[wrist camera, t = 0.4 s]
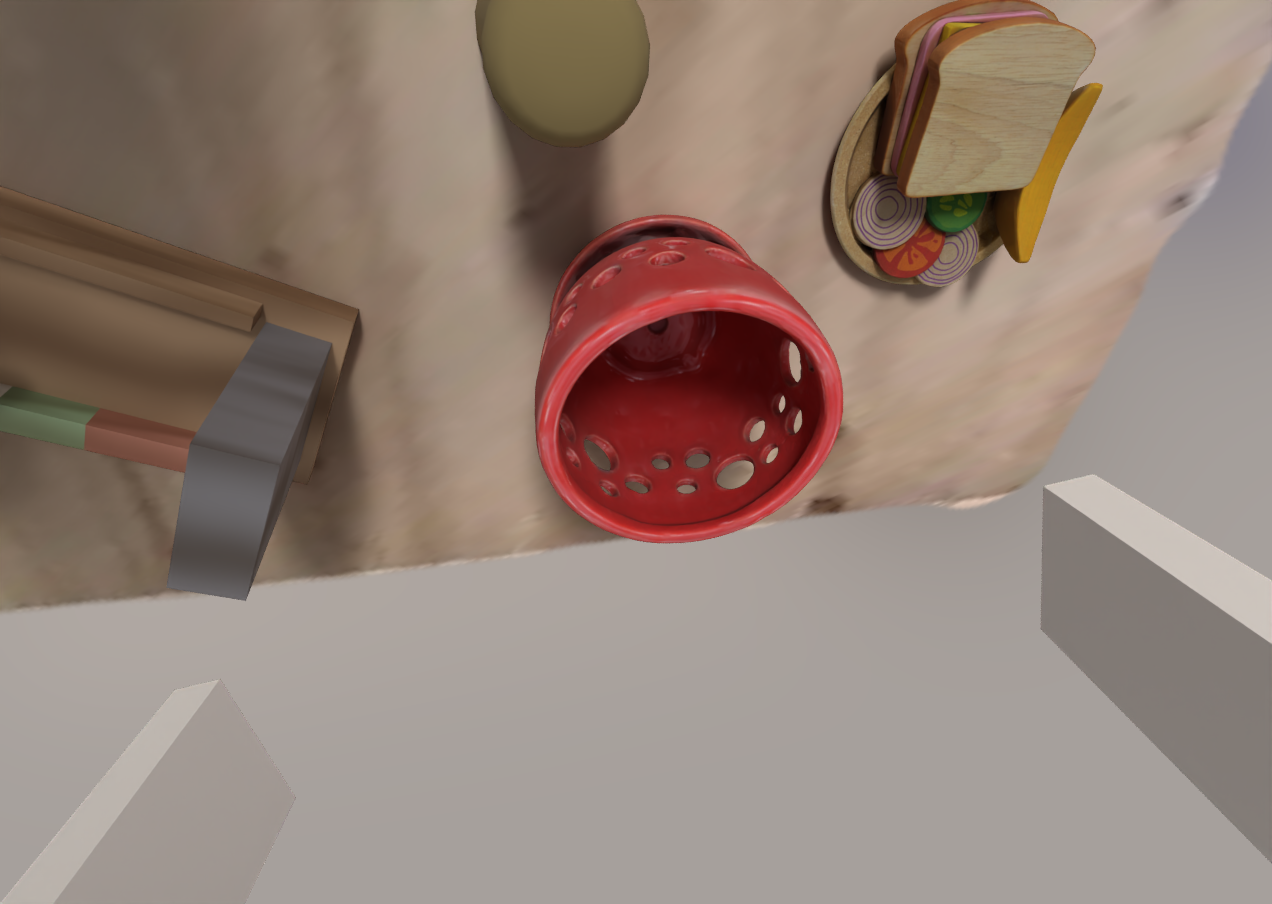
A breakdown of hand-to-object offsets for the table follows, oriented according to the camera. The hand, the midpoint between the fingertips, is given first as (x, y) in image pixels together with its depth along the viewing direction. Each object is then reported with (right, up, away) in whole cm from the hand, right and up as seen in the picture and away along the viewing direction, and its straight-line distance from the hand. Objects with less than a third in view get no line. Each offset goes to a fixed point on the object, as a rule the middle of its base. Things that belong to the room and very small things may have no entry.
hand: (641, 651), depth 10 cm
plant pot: (0, +11, +26) cm, 28 cm away
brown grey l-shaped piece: (-27, +10, +21) cm, 36 cm away
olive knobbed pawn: (-4, +21, +17) cm, 28 cm away
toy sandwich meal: (+15, +19, +23) cm, 34 cm away
